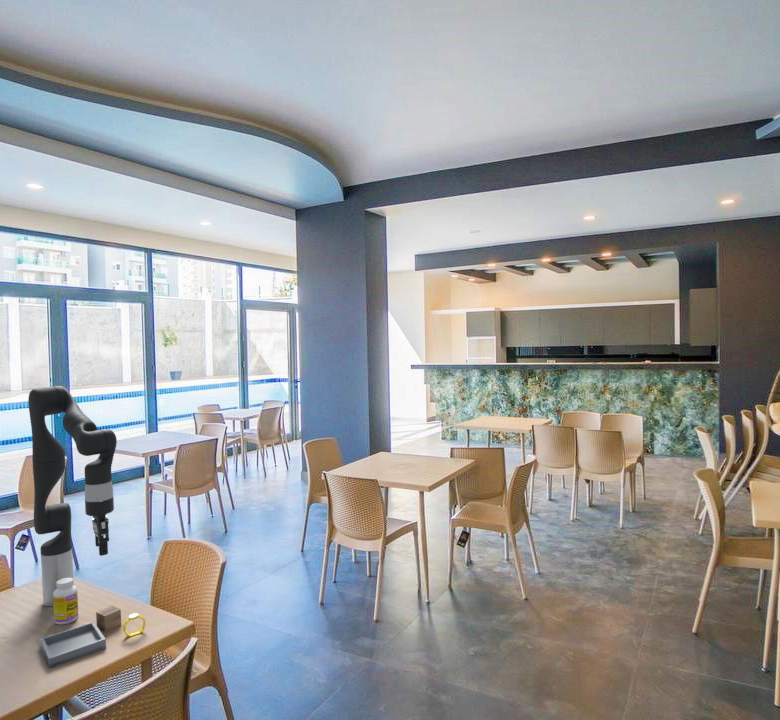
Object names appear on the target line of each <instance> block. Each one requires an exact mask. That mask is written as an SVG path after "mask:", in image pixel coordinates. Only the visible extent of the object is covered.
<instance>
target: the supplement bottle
mask: <svg viewBox="0 0 780 720" xmlns="http://www.w3.org/2000/svg"><path fill="white" fill-rule="evenodd" d="M56 586H57V589H56V590H55V591H54V593H53V603H54V606H53V622H54V623H55V624H56V625H60V626H61V625H63V626H65V625H68V624H71V623H72V622H74V621H76V620H77V619H78V618H79V603H78V601H79V600H78V587H77V586H76V585H75V584H74V585H73V578H63V579H60V580H58V581H57V582H56Z"/></svg>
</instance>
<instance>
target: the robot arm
mask: <svg viewBox="0 0 780 720" xmlns="http://www.w3.org/2000/svg"><path fill="white" fill-rule="evenodd" d="M27 402H28V413H29V418H30V419H29V420H30V426H31V437H32V439H31V440H32V442H31V443H32V457H31V458H32V473H33V474H32V475H33V487H34V489H33V490H34V495H33V496H34V499H33V500H34V501H33V528H34V531H35V533H36V534H37V535H46V534H51V533H56V532H59V533H58V534H57V535H55V536H54V537H53V538H51V539H49V540H47V541H45V542H44V543H42V544H41V546H40V548H39V549H40V563H41V584H42V585H41V586H42V603H43V604H42V605H43V606H44V607H45V606H46V607H54V603H53V593H54V591H55V590H56V589H57V586H56V582H57V581H58V580H60V579H63V578H73V585H74V586H75V583H74V582H75V581H74V580H75V579H74V578H75V577H74V564H73V563H74V562H73V560H74V559H73V543H72V508H71V506H70V504H69V503H68V502H61V503H55V504H50V505H47V501H48V499H49V496H50V494H51V492H52V491H53V489H54V488H55V487H56V485H57V483H58V482H59V481H60V479H61V478H62V476H63V475H64V473H65V470H66V454H65V453H66V452H65V448H64V447H63V446H62V444H61V443H60V442H59V440H58V439H57V438H56V437H55V436H54V435H53V434H52V433H51V432H50V430H49V429H48V427H47V425H46V424H47V423H46V416H52V415H58V414H63V413H64V415H63V417H62V426H63V429H64V430H65V431H66V433H67V434H68V435H69V436H71V438H73V441H74V443H75V447H76V450H77V451H78V453H79V454H80V455H82V456H85V457H90V456H95V455H98V457H97V459H95V460H93V461H92V462H89V463H87V464H86V465H85V466H84V484H85V485H84V505H85V509H84V510H85V514H86V515H87V516H89V517H92V519H91V522H92V531H93V533H94V539H95V547H98V554H99V556H105V555H108V554H109V548H108V547H109V546H108V545H109V544H108V543H109V542H110V535H109V533H110V528H109V524H110V521H109V518H108V516H107V514H110V513H112V512H114V510H115V507H114V506H115V500H114V499H115V498H114V486H113V479H112V478H113V477H112V475H113V474H112V465H113V460H114V455H115V451H116V449H117V436H116V433H115V432H114V431H113V430H112V429H109V428H106V429H105V428H104V429H98V428H97V427H98V426H97V425H96V423H95V422H94V421H93V420H91V419H90V418H89V417H88V416H87V415H86V414H85V413H84V412H83V411H82V409H81V408H80V407H79V405H78V403H77V402H76V400H75V399H74V397H73V395H72V394H71V393H70V391H69V390H68V389H67V388H66V387H64V386H62V385H54V386H53V385H52V386H47V387H38V388H33V389H31V390H30V391H29V394H28V401H27Z"/></svg>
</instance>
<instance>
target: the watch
mask: <svg viewBox="0 0 780 720" xmlns="http://www.w3.org/2000/svg"><path fill="white" fill-rule="evenodd" d="M138 618H139V619H141V620H142V626H141V628H140V629H139V630H138V631H135V632H131V633H129V632H127V631H126V627H127V625H128V623H129V622H130V621H134V620H137V619H138ZM122 625H123V626H122V627H123V628H122V630H123V633H124V634H125V636H127V637H129V638H131V637H134V636H137V635H139V634H142V632H143V631H144V630H145V627H146V619H145V618H144V617H143V616H142V615H141V614H139V613H137V612H135V613H131V614H129V615H128V617H127V619H125V621H124V623H123V624H122Z"/></svg>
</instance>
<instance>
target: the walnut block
mask: <svg viewBox="0 0 780 720" xmlns="http://www.w3.org/2000/svg"><path fill="white" fill-rule="evenodd" d="M95 617H96V626H97V627H98V629H99V630H100V631H102V632H105V633H106V632H109V631H111V630H113V629H116V628H117V627H120V626H121V625H122V609H120V608H119V607H116V606H114V605H110V606H108V607H105V608H103V609H100V610H98V611H96V613H95Z"/></svg>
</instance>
